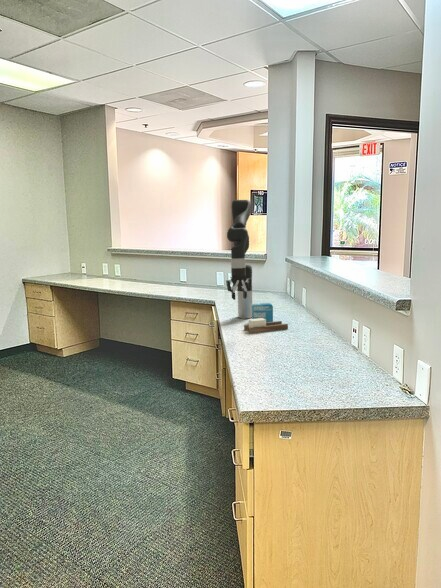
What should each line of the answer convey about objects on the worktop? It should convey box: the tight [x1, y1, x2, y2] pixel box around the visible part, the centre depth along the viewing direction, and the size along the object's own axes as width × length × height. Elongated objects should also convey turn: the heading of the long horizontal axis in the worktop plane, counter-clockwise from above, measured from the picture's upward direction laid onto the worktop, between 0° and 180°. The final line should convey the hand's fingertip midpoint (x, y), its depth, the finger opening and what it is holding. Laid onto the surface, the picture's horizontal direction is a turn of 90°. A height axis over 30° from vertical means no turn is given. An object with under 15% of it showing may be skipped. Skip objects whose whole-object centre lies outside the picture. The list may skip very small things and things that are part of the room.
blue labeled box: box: [251, 302, 274, 323], centre depth 248 cm, size 12×4×12 cm, turn 89°
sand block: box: [248, 318, 266, 328], centre depth 228 cm, size 5×8×6 cm, turn 108°
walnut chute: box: [243, 320, 289, 335], centre depth 230 cm, size 10×22×4 cm, turn 108°
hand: (239, 298), depth 222 cm, fingers open, 5 cm apart
